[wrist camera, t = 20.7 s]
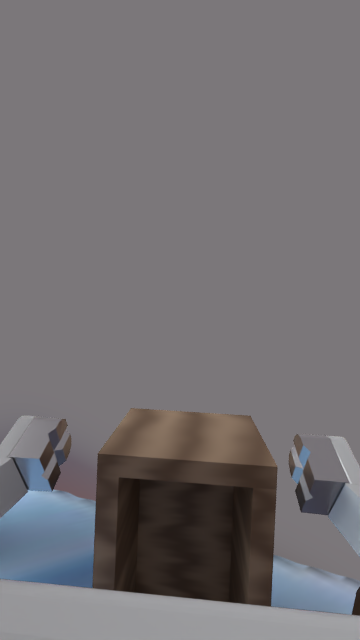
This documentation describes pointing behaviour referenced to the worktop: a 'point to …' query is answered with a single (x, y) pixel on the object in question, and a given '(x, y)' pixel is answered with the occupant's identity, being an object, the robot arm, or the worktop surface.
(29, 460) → the robot arm
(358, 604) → the beer bottle
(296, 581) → the worktop surface
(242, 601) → the shelf
